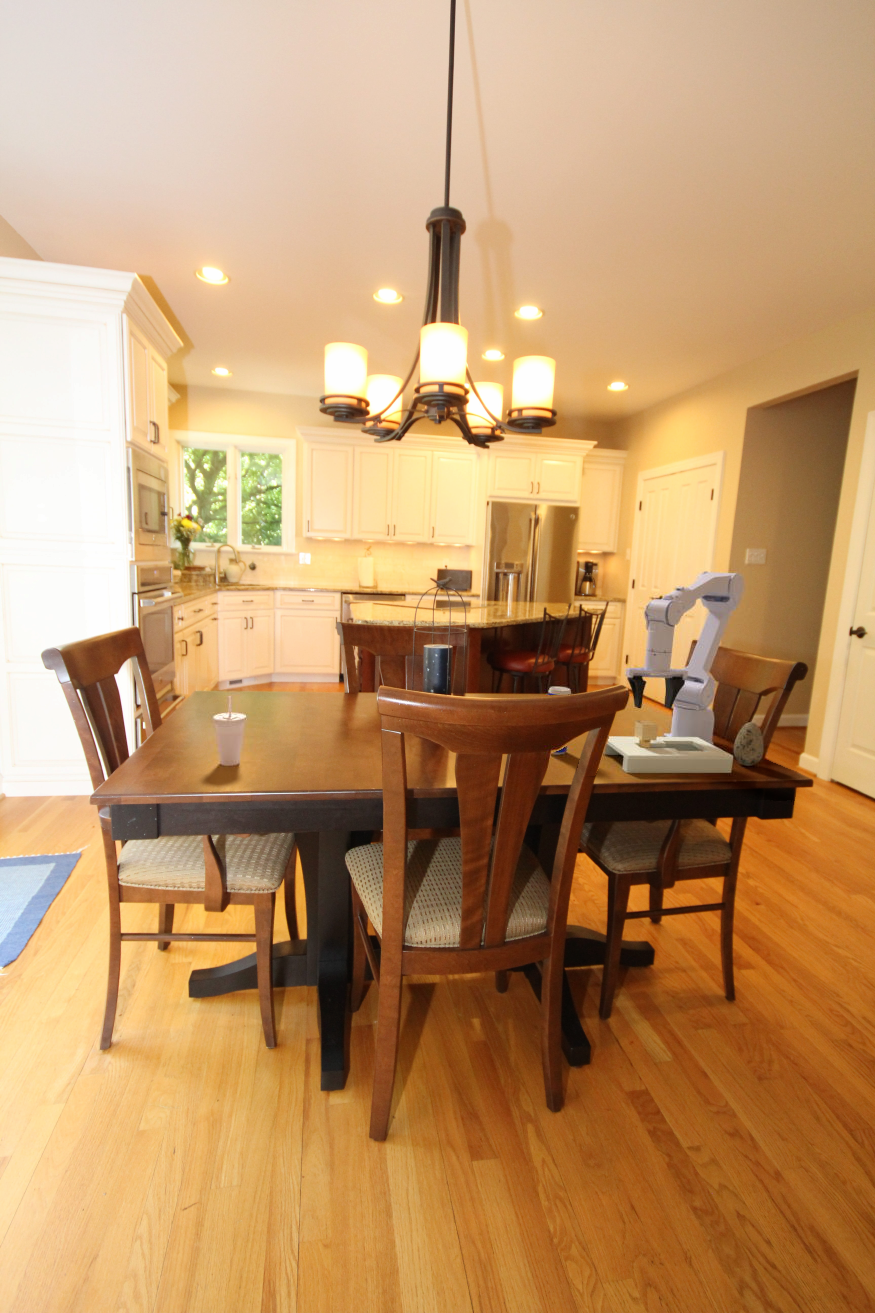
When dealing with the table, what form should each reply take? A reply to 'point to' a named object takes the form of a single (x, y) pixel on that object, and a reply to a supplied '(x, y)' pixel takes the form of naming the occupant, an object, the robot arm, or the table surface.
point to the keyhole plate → (670, 755)
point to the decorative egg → (749, 745)
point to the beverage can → (559, 691)
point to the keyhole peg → (645, 732)
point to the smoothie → (229, 735)
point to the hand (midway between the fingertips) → (652, 707)
